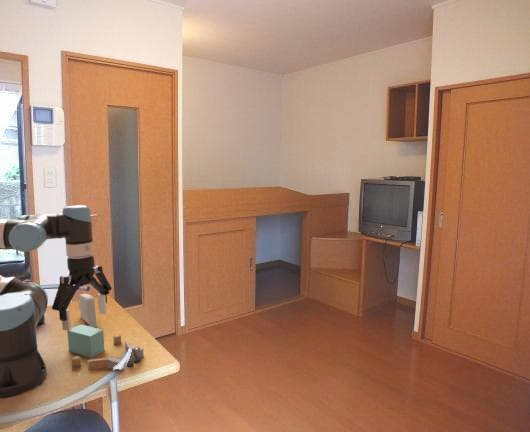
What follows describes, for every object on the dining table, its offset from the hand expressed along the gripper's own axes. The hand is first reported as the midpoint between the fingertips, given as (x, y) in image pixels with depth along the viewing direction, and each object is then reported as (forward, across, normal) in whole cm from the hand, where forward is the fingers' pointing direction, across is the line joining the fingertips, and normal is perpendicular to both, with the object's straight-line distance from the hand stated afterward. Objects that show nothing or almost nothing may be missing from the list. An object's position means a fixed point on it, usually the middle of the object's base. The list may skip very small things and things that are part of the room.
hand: (85, 321), depth 124 cm
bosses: (+10, 0, -19) cm, 22 cm away
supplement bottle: (+10, +7, +35) cm, 37 cm away
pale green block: (+10, 0, 0) cm, 10 cm away
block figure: (+10, 0, -11) cm, 15 cm away
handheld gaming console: (+10, +17, +19) cm, 27 cm away
